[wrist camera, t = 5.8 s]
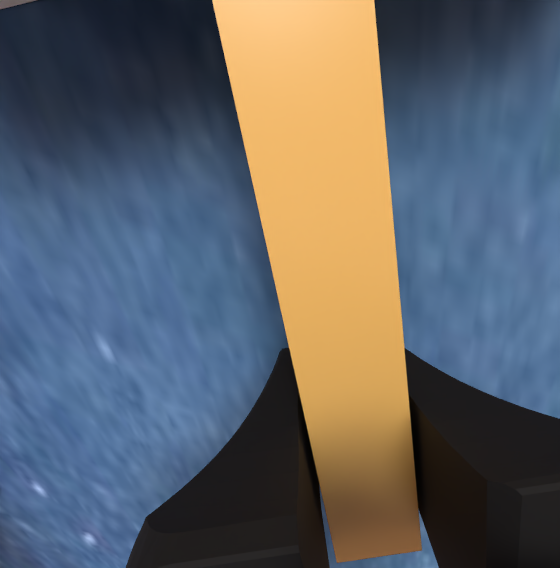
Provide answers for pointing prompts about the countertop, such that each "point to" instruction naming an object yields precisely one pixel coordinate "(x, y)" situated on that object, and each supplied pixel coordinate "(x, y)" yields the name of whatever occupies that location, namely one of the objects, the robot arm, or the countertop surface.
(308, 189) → the tab
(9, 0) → the dispenser
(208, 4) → the countertop surface
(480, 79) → the countertop surface
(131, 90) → the countertop surface
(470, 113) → the countertop surface
